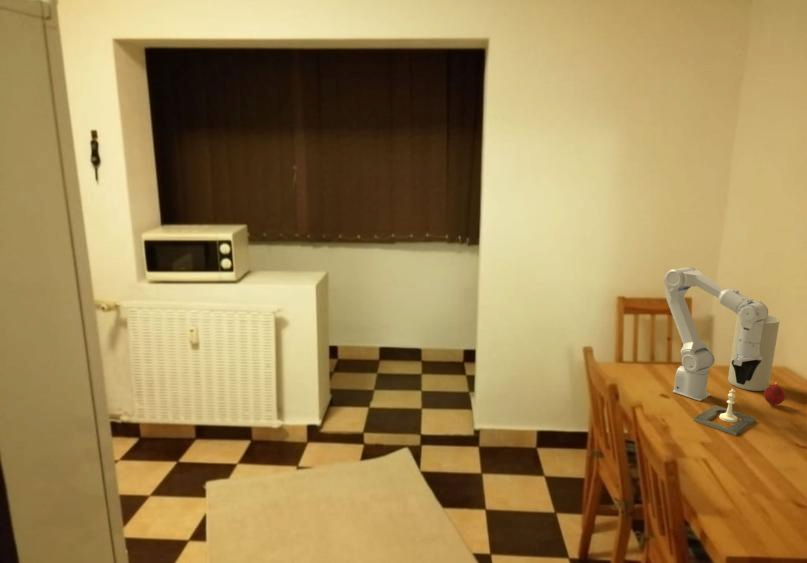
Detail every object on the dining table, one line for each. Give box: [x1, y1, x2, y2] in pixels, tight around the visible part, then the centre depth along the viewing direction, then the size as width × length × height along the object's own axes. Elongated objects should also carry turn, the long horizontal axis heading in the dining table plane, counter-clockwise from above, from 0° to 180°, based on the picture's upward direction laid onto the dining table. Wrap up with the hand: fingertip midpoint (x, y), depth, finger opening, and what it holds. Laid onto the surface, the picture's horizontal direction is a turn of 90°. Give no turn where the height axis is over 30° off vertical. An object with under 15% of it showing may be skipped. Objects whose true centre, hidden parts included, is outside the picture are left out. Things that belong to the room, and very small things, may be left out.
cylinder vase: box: [727, 313, 780, 392], centre depth 197 cm, size 12×12×25 cm
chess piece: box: [718, 388, 739, 423], centre depth 173 cm, size 5×5×10 cm
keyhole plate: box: [693, 404, 757, 437], centre depth 172 cm, size 14×12×1 cm
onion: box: [763, 382, 786, 406], centre depth 182 cm, size 6×6×8 cm
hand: (743, 381), depth 176 cm, fingers open, 4 cm apart
